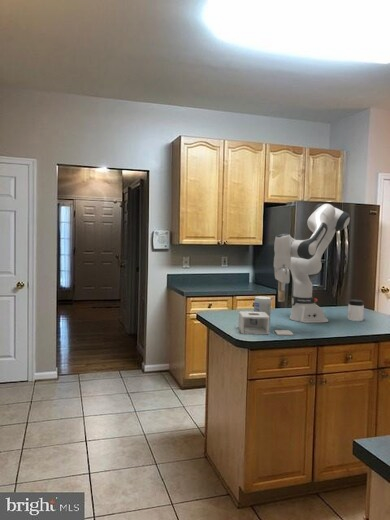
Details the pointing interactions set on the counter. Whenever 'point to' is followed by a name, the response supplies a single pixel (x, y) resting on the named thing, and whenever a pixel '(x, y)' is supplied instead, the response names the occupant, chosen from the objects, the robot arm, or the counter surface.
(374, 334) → the counter surface
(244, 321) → the box
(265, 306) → the supplement tub
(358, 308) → the jar
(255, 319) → the orange ball
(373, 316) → the counter surface
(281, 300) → the rectangular block
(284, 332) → the tile
